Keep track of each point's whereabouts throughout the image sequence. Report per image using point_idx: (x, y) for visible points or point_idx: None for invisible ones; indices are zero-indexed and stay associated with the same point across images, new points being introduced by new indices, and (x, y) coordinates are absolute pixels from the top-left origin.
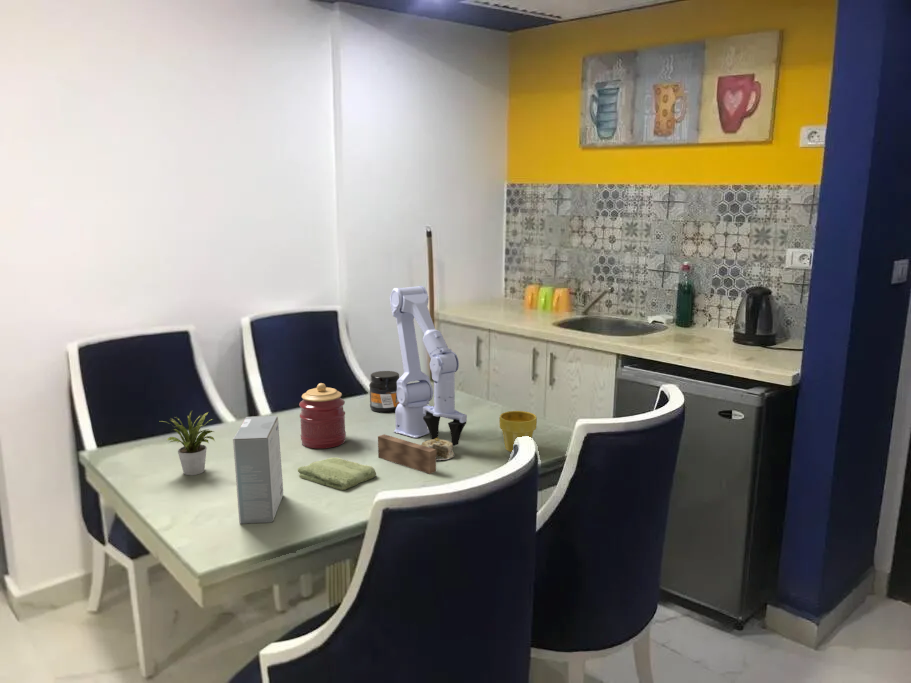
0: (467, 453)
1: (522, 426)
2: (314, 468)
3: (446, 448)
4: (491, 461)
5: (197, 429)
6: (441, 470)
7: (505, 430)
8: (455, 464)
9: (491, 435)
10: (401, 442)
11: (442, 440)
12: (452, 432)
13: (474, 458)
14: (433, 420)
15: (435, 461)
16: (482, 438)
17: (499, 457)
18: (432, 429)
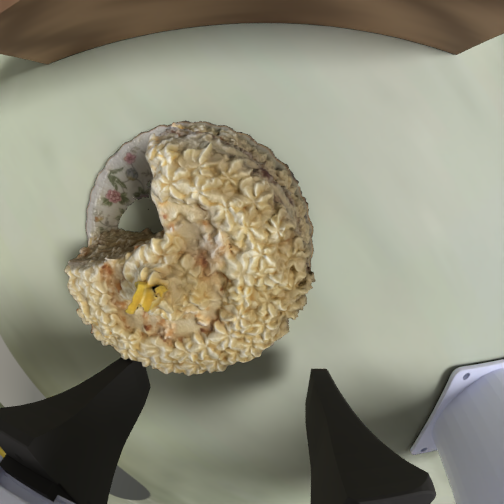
0: (104, 353)
1: None
2: None
3: (77, 260)
4: (6, 318)
5: None
6: (37, 93)
7: (2, 451)
8: (37, 200)
9: (202, 497)
10: None
11: (178, 352)
12: (68, 399)
13: (46, 315)
14: (325, 501)
15: (11, 52)
16: (202, 480)
17: (24, 362)
18: (322, 429)
